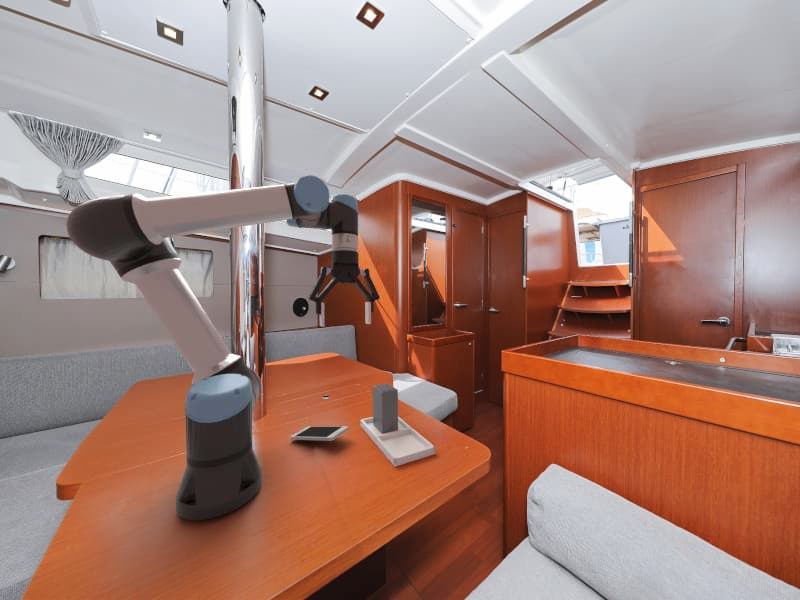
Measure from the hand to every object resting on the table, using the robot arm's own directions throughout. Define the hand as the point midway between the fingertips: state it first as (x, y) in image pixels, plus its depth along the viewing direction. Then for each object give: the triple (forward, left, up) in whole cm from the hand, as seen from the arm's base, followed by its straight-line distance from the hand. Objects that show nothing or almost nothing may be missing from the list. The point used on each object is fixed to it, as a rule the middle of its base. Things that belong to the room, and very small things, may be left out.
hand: (345, 325), depth 82 cm
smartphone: (-3, -6, -30) cm, 31 cm away
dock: (+11, -9, -32) cm, 35 cm away
